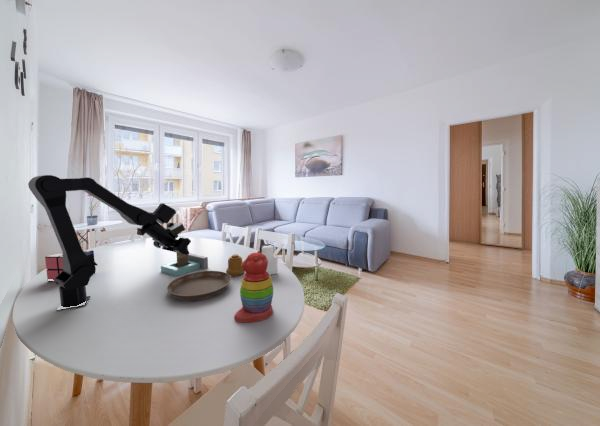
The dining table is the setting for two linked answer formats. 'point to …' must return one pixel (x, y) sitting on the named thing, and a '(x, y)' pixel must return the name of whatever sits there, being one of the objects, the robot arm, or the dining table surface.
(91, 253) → the robot arm
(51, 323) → the dining table surface
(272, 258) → the medicine bottle
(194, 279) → the plant saucer
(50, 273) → the puzzle cube
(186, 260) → the walnut dowel
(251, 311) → the stacking bear
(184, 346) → the dining table surface
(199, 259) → the charcoal wall
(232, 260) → the ornamental finial
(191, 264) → the socket block
